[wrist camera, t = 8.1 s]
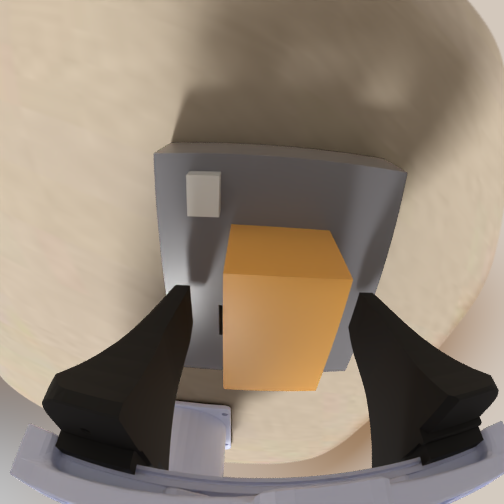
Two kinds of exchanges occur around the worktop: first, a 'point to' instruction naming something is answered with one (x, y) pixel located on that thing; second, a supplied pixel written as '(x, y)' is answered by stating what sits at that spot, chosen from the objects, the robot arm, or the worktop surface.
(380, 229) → the socket
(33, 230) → the worktop surface
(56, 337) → the worktop surface
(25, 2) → the worktop surface
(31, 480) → the robot arm
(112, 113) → the worktop surface
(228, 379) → the plug
